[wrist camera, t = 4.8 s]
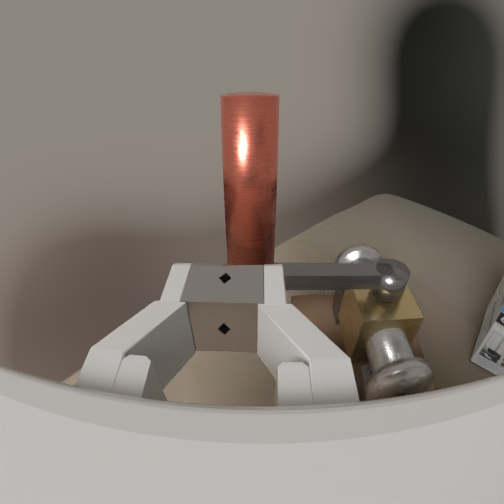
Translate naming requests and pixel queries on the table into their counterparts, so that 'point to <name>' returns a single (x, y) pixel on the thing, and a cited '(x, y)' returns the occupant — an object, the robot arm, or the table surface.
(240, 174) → the lever
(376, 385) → the valve pipe
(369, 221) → the table surface
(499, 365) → the light bulb box
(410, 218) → the table surface
